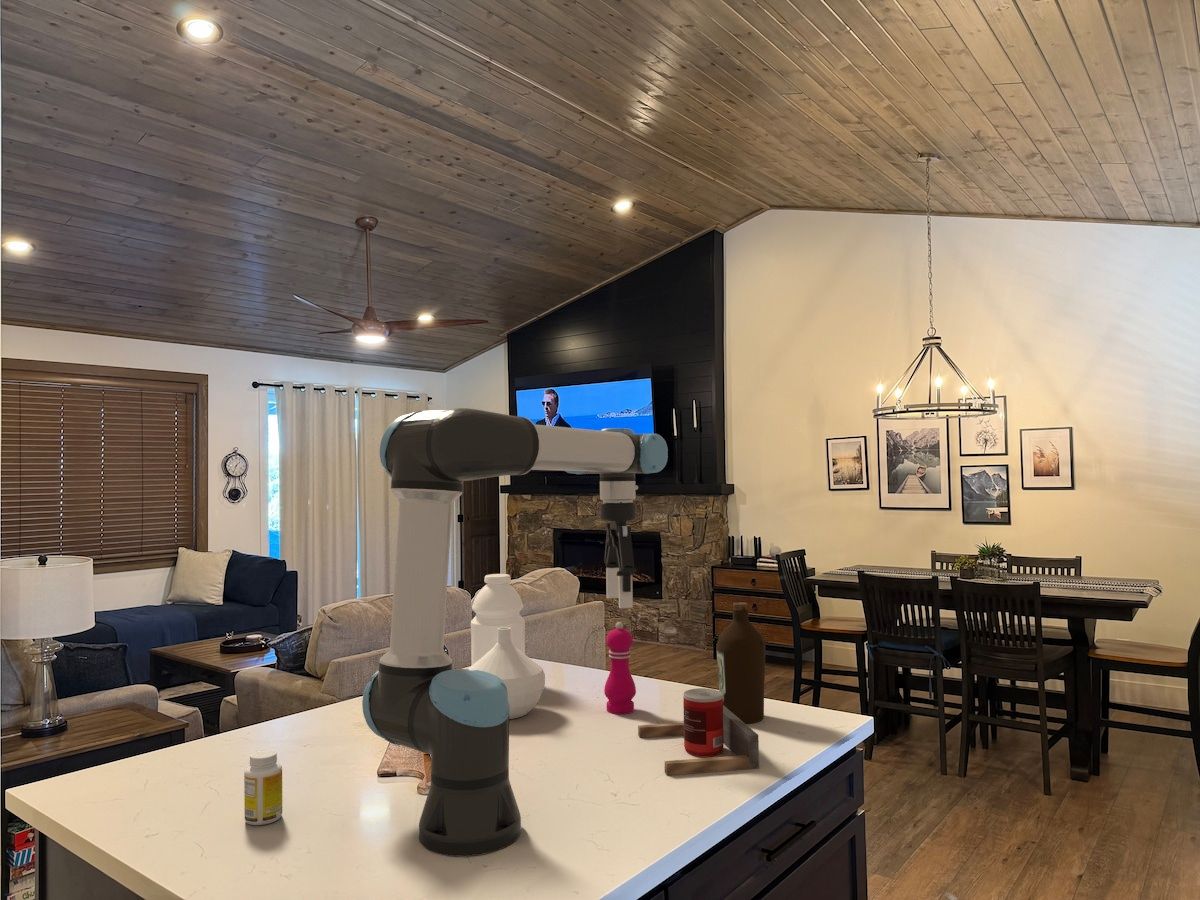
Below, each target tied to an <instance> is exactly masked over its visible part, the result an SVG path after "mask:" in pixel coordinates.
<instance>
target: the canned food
mask: <svg viewBox="0 0 1200 900" xmlns="http://www.w3.org/2000/svg"><path fill="white" fill-rule="evenodd" d="M682 703H683V723H684V735H683V745H684V750H685V751H686V753H687V754H689V755H691V756H695V757H702V758H704V757H705V758H710V757H716V756H718V755H720V754H722V753H723V750H724V746H725V744H724V735H723V694H722V692H720V691H719V690H717V689H714V688H707V687H706V688H703V687H702V688H701V687H700V688H699V687H698V688H691V689H688V690H687V689H686V690H685V691H684V692H683V702H682Z"/></svg>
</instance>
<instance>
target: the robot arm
mask: <svg viewBox="0 0 1200 900" xmlns="http://www.w3.org/2000/svg"><path fill="white" fill-rule="evenodd" d="M668 451H669V449H668V444H667V441H666V440H665V438H663V436H661V435H660V434H658V433H647V432H644V433H635V431H634V430H633V429H631V428H628V427H627V428H625V427H608V428H607V427H606V428H602V429H601V430H597V429H596V430H595V429H586V428H578V427H577V428H576V427H567V426H555V425H545V424H535V423H534V422H533V421H532V420H531V419H529V418H528V417H524V416H518V415H511V414H505V413H499V412H494V411H488V410H482V409H475V408H468V407H467V408H450V409H434V410H433V409H432V410H418V411H413V412H411V413H406V414H403V415H401V416H399V417H397V418H396V419H394V420H393V421H392V422H391V423H389V425H388V426H387V428H386V429H385V431H384V432H383V434H382V437H381V440H380V444H379V458H380V463H381V466H382V467H383V468H384V469H385V472H386V473H387V475H388V476H389V477H391V480H390V482H391V483H390V491H391V493H392V494H393V495H394V497H396V499H397V500H398V502H399V504H398V505H399V506H398V520H397V534H396V549H395V563H394V565H395V566H394V577H393V578H394V579H393V581H394V582H393V592H392V593H393V595H392V609H391V622H390V623H391V626H390V640H389V649H388V650H387V651H386V652H385V653H384V654H383V655H381V657H380V658H379V662H378V670H376V672H375V673H374V674H372V675H371V680H369V681H368V682H366V685H365V688H364V690H363V693H362V694H363V695H362V699H361V700H362V701H361V702H362V703H361V704H362V705H361V706H362V714H363V717H364V721H365V722H366V724H367V726H368V728H369V729H370V730H371V731H372V732H373V734H375V735H376V736H378V737H380V738H382V739H384V740H385V741H387V742H388V743H390V744H393V745H397V746H403V747H405V748H408V749H412V750H415V751H418V752H421V753H424V754H427V755H430V787H429V790H428V793H427V796H426V799H425V803H424V806H423V809H422V812H421V816H420V818H419V824H418V839H419V843H420V845H421V846H422V847H424V848H425V849H427V850H428V851H430V852H433V853H436V854H439V855H444V856H453V857H466V856H467V857H468V856H478V855H483V854H484V855H485V854H489V853H492V852H493V853H494V852H495V851H499V850H502V849H504V848H506V847H507V846H510V845H511V844H513V843H514V842H515V841H516V840H517V839H518V838H519V837H520V835H521V832H522V817H521V812H520V810H519V807H518V803H517V800H516V797H515V794H514V790H513V787H512V784H511V782H510V775H509V771H510V769H509V768H510V765H509V763H510V762H509V761H510V757H509V755H510V719H509V712H510V711H509V709H510V706H509V703H508V692H507V687H506V685H505V683H504V682H503V681H502V680H501V679H500V678H499V677H497V676H495V675H493V674H490V673H488V672H484V671H479V670H474V671H471V670H469V669H468V668H457V669H453V659H452V658H451V657H450V656H449V655H448V654H447V652H446V650H445V649H444V646H445V631H446V615H447V614H446V613H447V598H448V595H447V594H448V580H449V579H448V578H449V564H450V547H451V528H452V515H453V514H452V513H453V504H454V502H456V501H457V500H458V498H460V497H461V496H462V495H463V487H464V486H463V485H464V482H466V481H467V482H468V481H474V480H481V479H489V478H495V477H503V476H504V477H505V476H522V475H526V474H528V473H529V472H531V470H532V471H535V470H536V471H537V470H538V471H563V472H566V473H567V474H575V475H586V474H587V475H588V474H589V475H590V474H591V475H593V474H595V475H596V474H598V475H599V499H600V500H601V501H602V502H601V503H600V505H599V506H600V507H599V508H600V509H599V510H600V516H599V517H600V520H601V521H604V522H605V521H606V522H607V523H606V536H605V537H606V538H605V545H604V547H605V548H604V549H605V550H604V557H603V558H604V559H603V562H604V564H605V567H606V568H605V570H606V572H605V573H606V574H605V578H606V581H605V582H606V589H605V590H606V599H618V608H619V609H632V608H633V607H634V600H633V596H634V595H633V593H634V592H633V591H634V590H633V588H634V587H633V585H634V584H633V575H634V574H635V573H636V567H635V562H634V561H635V559H634V551H633V540H632V527H631V526H630V525H628V523H627V521H634V520H636V519H637V504H636V502H634V500H636V499H637V498H636V497H637V496H636V495H637V494H636V493H637V492H636V491H638V489H639V486H638V485H636V474H645V475H646V474H647V475H649V474H653V473H654V474H655V473H656V474H657V473H659V472H661V471H662V470H663V469H664V468H665V467H666V465H667V463H668V458H669V456H668V455H669V453H668Z"/></svg>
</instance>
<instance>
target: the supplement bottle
mask: <svg viewBox="0 0 1200 900" xmlns="http://www.w3.org/2000/svg"><path fill="white" fill-rule="evenodd" d="M277 757H278V753H277V751H276V750H272V749H266V750H265V749H263V750H258V751H255V752H253V753H251V754H250V755H249V766H248V767H246V768H245V770H244V775H243V777H244V779H243V781H244V782H243V783H244V786H243V787H244V788H243V789H244V791H243V792H244V797H243V798H244V821H245V822H246V823H247V824H248V825H250V826H265V825H269V824H272V823H274V822H276V821H278V820H279V819H280V818H282V815H283V766H282V764H281V763H280V762H278V758H277Z"/></svg>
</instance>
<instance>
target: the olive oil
mask: <svg viewBox="0 0 1200 900" xmlns="http://www.w3.org/2000/svg"><path fill="white" fill-rule="evenodd" d="M732 607H733V609H732V621H731V622H730V623H729V624H728V625H727V626H726V627H725V628H724V629H723V631H722V632H721V633H720V635H719V636H718V639H717V643H716V657H717V658H716V659H717V673H718V674H717V676H718V688H719V690H718V691H720V692H722V694H723V705H724V706H725V707H726V708H727V709H728V710H730V711H731V712H732V713H733V714H734V715H736V716H737V717H738V718H739V719H740V720H741V721H743V722H744V723H745V724H754V723H759V722H761V721H763V719H764V718H765V679H766V678H765V676H766V673H765V672H766V655H767V654H766V652H767V651H766V642H765V640H764V637H763V636H762V634H761V633H760V631H759V630H757V628H756V627H755V626H754V625H753V624H752V623H751V622H750V620H749V609H748V603H747V602H745V601H744V602H742V601H739V602H737V601H736V602H733V604H732Z"/></svg>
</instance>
